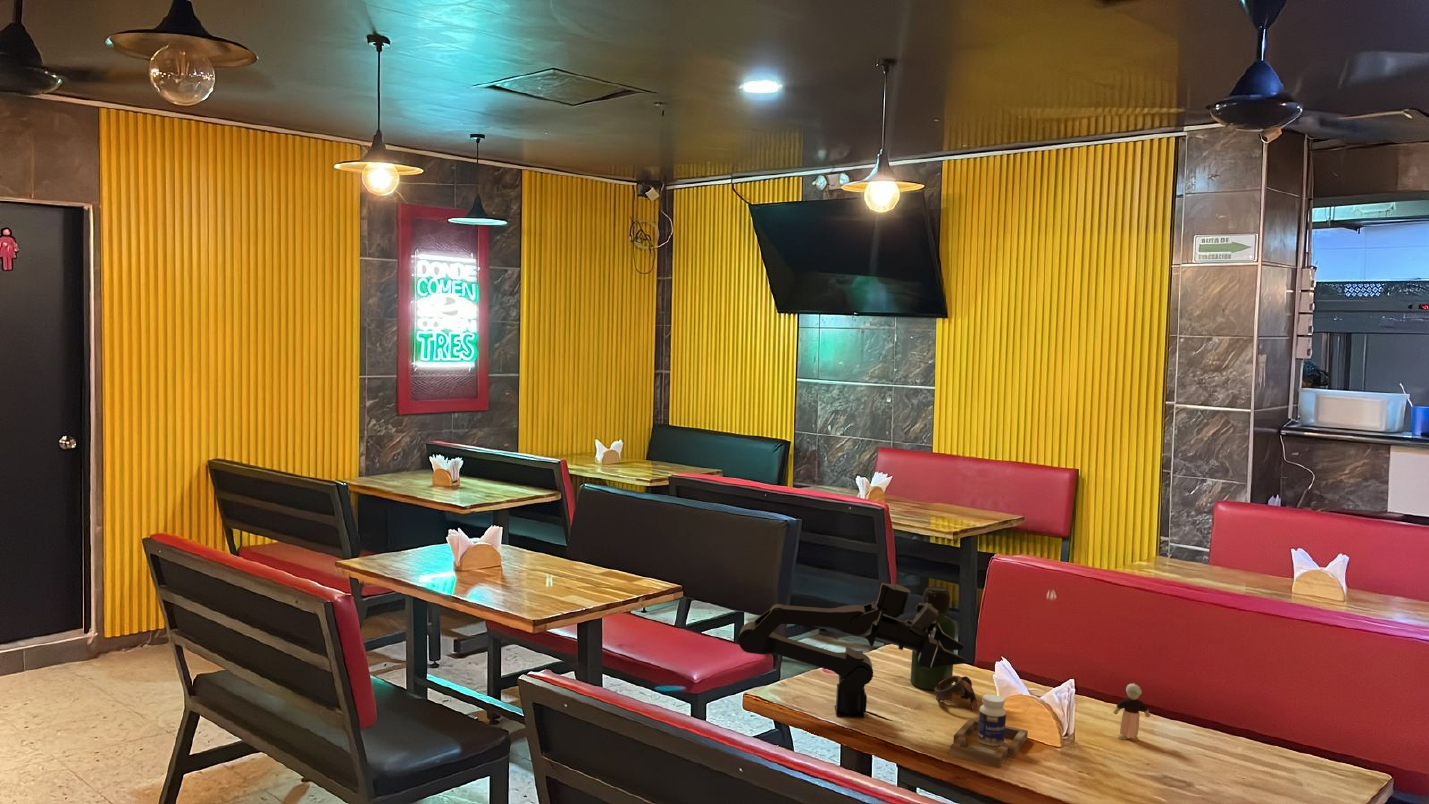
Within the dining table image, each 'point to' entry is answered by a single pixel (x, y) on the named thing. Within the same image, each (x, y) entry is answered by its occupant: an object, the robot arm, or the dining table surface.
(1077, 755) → the dining table surface
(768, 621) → the robot arm
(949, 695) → the dark brown banded ring
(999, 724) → the pill bottle
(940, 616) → the dark green bottle
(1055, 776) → the dining table surface
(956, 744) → the keyhole frame
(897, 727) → the dining table surface
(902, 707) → the dining table surface
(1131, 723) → the grandmother figurine
